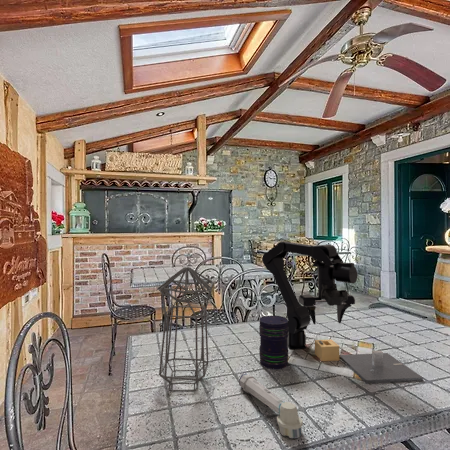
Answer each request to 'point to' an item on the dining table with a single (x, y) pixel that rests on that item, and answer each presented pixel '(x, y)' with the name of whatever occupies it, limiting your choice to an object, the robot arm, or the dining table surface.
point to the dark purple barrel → (273, 342)
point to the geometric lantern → (209, 289)
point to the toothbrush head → (275, 406)
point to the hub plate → (379, 368)
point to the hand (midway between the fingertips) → (326, 323)
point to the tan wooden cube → (327, 350)
